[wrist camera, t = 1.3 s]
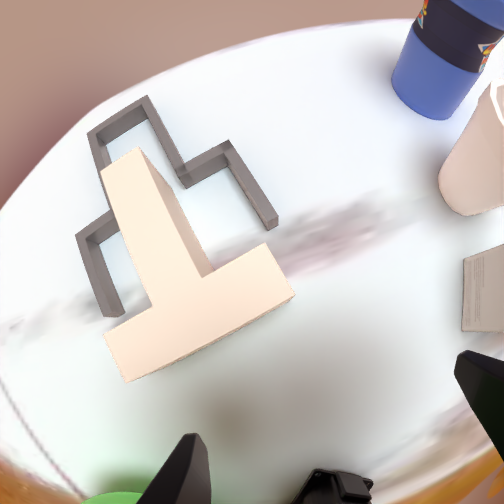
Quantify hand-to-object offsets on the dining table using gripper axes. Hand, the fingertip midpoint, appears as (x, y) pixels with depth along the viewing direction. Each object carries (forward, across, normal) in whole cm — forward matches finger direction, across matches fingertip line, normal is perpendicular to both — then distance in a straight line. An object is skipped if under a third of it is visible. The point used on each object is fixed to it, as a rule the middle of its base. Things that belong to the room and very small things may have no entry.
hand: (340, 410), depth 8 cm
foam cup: (+19, -22, -1) cm, 29 cm away
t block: (+19, +7, 0) cm, 20 cm away
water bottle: (+25, -24, -13) cm, 37 cm away
